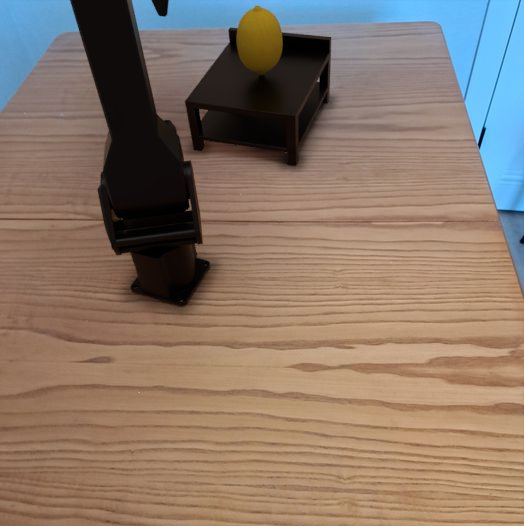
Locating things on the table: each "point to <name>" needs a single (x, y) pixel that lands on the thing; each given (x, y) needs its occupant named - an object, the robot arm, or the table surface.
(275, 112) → the dark coffee table
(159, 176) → the robot arm
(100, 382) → the table surface
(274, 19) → the lemon
